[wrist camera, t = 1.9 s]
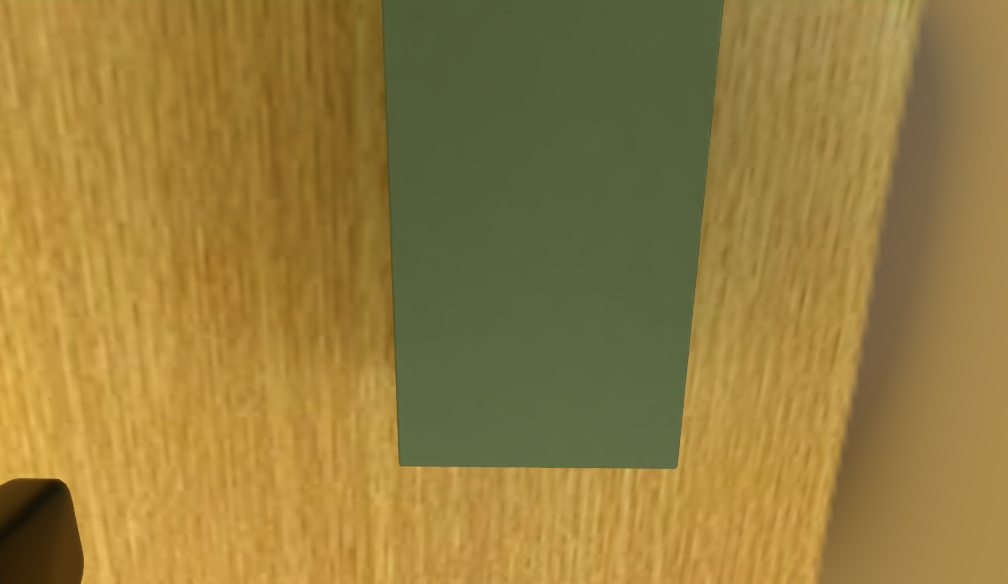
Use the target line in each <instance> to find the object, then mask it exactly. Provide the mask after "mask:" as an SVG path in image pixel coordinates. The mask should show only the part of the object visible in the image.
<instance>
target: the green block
mask: <svg viewBox="0 0 1008 584" xmlns="http://www.w3.org/2000/svg"><path fill="white" fill-rule="evenodd" d="M381 2H382V29H383V55H384V82H385V108H386V134H387V161H388V187H389V214H390V240H391V266H392V293H393V319H394V346H395V372H396V398H397V425H398V451H399V464H400V466H435V467H539V468H644V469H676V468H677V466H678V456H679V446H680V436H681V426H682V416H683V406H684V395H685V385H686V375H687V365H688V355H689V345H690V335H691V325H692V315H693V305H694V295H695V285H696V275H697V265H698V255H699V245H700V235H701V225H702V215H703V205H704V195H705V185H706V175H707V164H708V154H709V144H710V134H711V124H712V114H713V104H714V94H715V84H716V74H717V64H718V54H719V44H720V34H721V24H722V14H723V4H724V0H381Z"/></svg>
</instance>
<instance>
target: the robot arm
mask: <svg viewBox="0 0 1008 584" xmlns="http://www.w3.org/2000/svg"><path fill="white" fill-rule="evenodd" d="M83 568H84V557H83V550H82V546H81V541H80V536H79V531H78V526H77V521H76V517H75V512H74V507H73V502H72V497H71V494H70V491H69V489H68V487H67V485H66V484H65V483H64V482H62V481H61V480H59V479H37V478H18V479H13V480H10V481H8V482H6V483H4V484H2V485H0V584H81V581H82V576H83Z"/></svg>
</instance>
